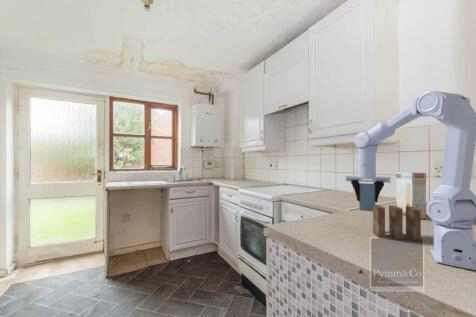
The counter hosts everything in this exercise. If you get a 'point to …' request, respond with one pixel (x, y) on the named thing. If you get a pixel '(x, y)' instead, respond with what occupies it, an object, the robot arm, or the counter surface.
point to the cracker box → (411, 191)
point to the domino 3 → (396, 222)
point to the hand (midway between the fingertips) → (366, 201)
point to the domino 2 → (379, 221)
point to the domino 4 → (413, 223)
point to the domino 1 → (367, 197)
